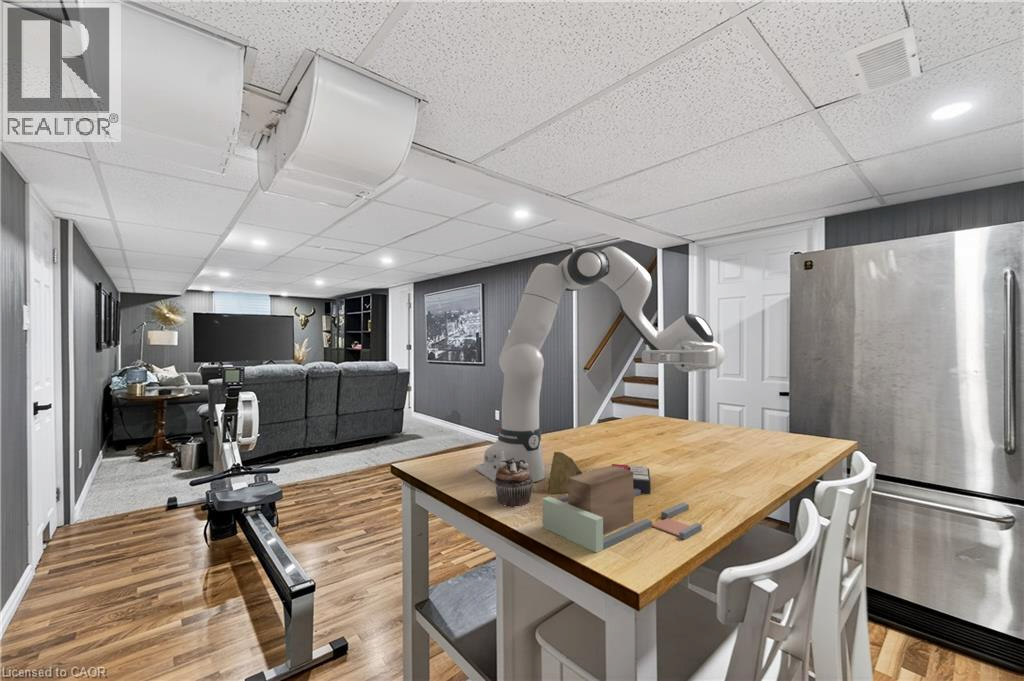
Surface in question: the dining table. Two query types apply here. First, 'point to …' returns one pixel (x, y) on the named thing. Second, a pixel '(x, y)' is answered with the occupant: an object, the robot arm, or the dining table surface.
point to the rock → (561, 473)
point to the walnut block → (604, 495)
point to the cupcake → (513, 483)
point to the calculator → (639, 477)
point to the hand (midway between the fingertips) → (662, 357)
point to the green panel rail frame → (590, 526)
